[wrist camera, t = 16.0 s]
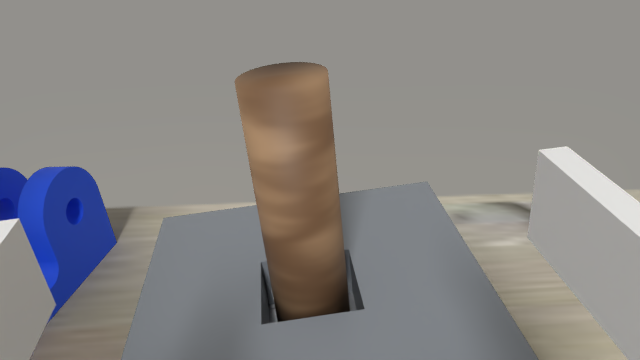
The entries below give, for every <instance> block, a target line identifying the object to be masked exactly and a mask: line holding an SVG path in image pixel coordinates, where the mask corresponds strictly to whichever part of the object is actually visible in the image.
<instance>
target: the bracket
mask: <svg viewBox="0 0 640 360" xmlns="http://www.w3.org/2000/svg"><path fill="white" fill-rule="evenodd" d="M18 218H19V219H20V222H21V224H22V226H23V229H24V231H25V233H26V236H27V238H28V240H29V243H30V245H31V247H32V250H33V252H34V254H35V257H36V259H37V261H38V264H39V266H40V268H41V271H42V273H43V275H44V278H45V280H46V282H47V285H48V287H49V289H50V292H51V294H52V296H53V299H54V301H55V303H56V306H55V308H54V310H53V312H52V314H51V316H50V318H49V320H48V322H49V321H50V320H51V319H52V317H53V316H54V315H55V314H56V313H57V312H58V310H59V309H60V308H61V307H62V306H63V305H64V303H65V302H66V301H67V300H68V299H69V298H70V296H71V295H72V294H73V293H74V292H75V291H76V289H77V288H78V287H79V286H80V285H81V284H82V282H83V281H84V280H85V279H86V278H87V277H88V275H89V274H90V273H91V272H92V271H93V270H94V269H95V267H96V266H97V265H98V264H99V263H100V262H101V260H102V259H103V258H104V257H105V256H106V255H107V253H108V252H109V251H110V250H111V249H112V248H113V246H114V245H115V244H116V243H117V242H116V239H115V236H114V233H113V230H112V227H111V224H110V221H109V218H108V215H107V212H106V209H105V206H104V204H103V201H102V198H101V195H100V192H99V189H98V186H97V184H96V182H95V180H94V179H93V177H92V176H91V175H90V174H89V173H88V172H87V171H86V170H84V169H82V168H80V167H46V168H42V169H40V170H38V171H37V172H35V173H34V174H33V175H32V176H31V177H30V178H29V179H28V180H27V179H26V178H25V177H24V176H23V175H22V174H21V173H19V172H18V171H16V170H13V169H10V168H0V221H3V220H10V219H18ZM48 322H47V323H48Z"/></svg>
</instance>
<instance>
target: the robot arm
mask: <svg viewBox="0 0 640 360" xmlns="http://www.w3.org/2000/svg"><path fill="white" fill-rule="evenodd" d="M527 238H528V239H529V240H530V241H531V242H532V244H533V245H534V246H535V247H536V249H537V250H538V251H539V252H540V253H541V255H542V256H543V257H544V258H545V259H546V261H547V262H548V263H549V264H550V265H551V267H552V268H553V269H554V270H555V272H556V273H557V274H558V275H559V276H560V278H561V279H562V280H563V281H564V282H565V284H566V285H567V286H568V287H569V288H570V290H571V291H572V292H573V293H574V295H575V296H576V297H577V298H578V299H579V301H580V302H581V303H582V304H583V305H584V307H585V308H586V309H587V310H588V311H589V313H590V314H591V315H592V316H593V318H594V319H595V320H596V321H597V322H598V324H599V325H600V326H601V327H602V328H603V330H604V331H605V332H606V333H607V334H608V336H609V337H610V338H611V339H612V341H613V342H614V343H615V344H616V345H617V347H618V348H619V349H620V350H621V351H622V353H623V354H624V355H625V356H626V357H627V359H628V360H640V202H638V201H637V200H636V199H635V198H633V197H632V196H631V195H629V194H628V193H627V192H625V191H624V190H623V189H621V188H620V187H619V186H618V185H616V184H615V183H614V182H612V181H611V180H610V179H609V178H607V177H606V176H605V175H603V174H602V173H601V172H599V171H598V170H597V169H595V168H594V167H593V166H592V165H590V164H589V163H588V162H587V161H585V160H584V159H583V158H581V157H580V156H579V155H577V154H576V153H575V152H573V151H572V150H571V149H570V148H568V147H567V146H566V147H558V148H551V149H543V150H539V151H538V159H537V167H536V175H535V183H534V190H533V198H532V205H531V213H530V221H529V229H528V237H527ZM55 306H56V303H55V301H54V299H53V296H52V294H51V292H50V289H49V287H48V285H47V282H46V280H45V278H44V275H43V273H42V271H41V268H40V266H39V264H38V261H37V259H36V257H35V254H34V252H33V250H32V247H31V245H30V243H29V240H28V238H27V236H26V233H25V231H24V229H23V226H22V224H21V222H20V219H19V218H18V219H10V220H3V221H0V360H30V358H31V356H32V353H33V351H34V349H35V347H36V345H37V343H38V341H39V339H40V337H41V335H42V333H43V331H44V329H45V326H46V324H47V322H48V320H49V318H50V316H51V314H52V312H53V310H54V308H55Z"/></svg>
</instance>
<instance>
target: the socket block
mask: <svg viewBox="0 0 640 360" xmlns="http://www.w3.org/2000/svg"><path fill="white" fill-rule="evenodd" d="M339 198H340V209H341V220H342V231H343V241H344V252H345V263H346V274H347V285H348V296H349V307H350V311H349V312H342V313H335V314H329V315H322V316H315V317H309V318H302V319H295V320H289V321H282V322H278V321H277V315H276V310H275V304H274V298H273V293H272V287H271V282H270V276H269V271H268V265H267V259H266V254H265V248H264V243H263V237H262V232H261V226H260V220H259V215H258V209H257V205H254V206H247V207H240V208H233V209H225V210H218V211H211V212H204V213H196V214H189V215H182V216H175V217H168V218H164V219H163V222H162V225H161V229H160V232H159V235H158V239H157V242H156V245H155V248H154V252H153V255H152V258H151V262H150V265H149V268H148V272H147V275H146V278H145V282H144V285H143V288H142V291H141V295H140V298H139V301H138V305H137V308H136V311H135V315H134V318H133V321H132V325H131V328H130V331H129V334H128V338H127V341H126V344H125V348H124V351H123V354H122V358H121V360H538V358H537V356H536V355H535V353H534V352H533V350H532V348H531V347H530V345H529V344H528V342H527V340H526V339H525V337H524V336H523V334H522V332H521V331H520V329H519V328H518V326H517V324H516V323H515V321H514V320H513V318H512V316H511V315H510V313H509V312H508V310H507V308H506V307H505V305H504V304H503V302H502V300H501V299H500V297H499V296H498V294H497V292H496V291H495V289H494V288H493V286H492V284H491V283H490V281H489V280H488V278H487V276H486V275H485V273H484V272H483V270H482V268H481V267H480V265H479V264H478V262H477V260H476V259H475V257H474V256H473V254H472V252H471V251H470V249H469V248H468V246H467V244H466V243H465V241H464V240H463V238H462V236H461V235H460V233H459V232H458V230H457V228H456V227H455V225H454V224H453V222H452V220H451V219H450V217H449V216H448V214H447V212H446V211H445V209H444V208H443V206H442V204H441V203H440V201H439V200H438V198H437V196H436V195H435V193H434V192H433V190H432V189H431V187H430V185H429V184H428V182H420V183H413V184H406V185H399V186H392V187H384V188H377V189H370V190H362V191H356V192H348V193H341V194H339Z"/></svg>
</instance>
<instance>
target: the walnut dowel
mask: <svg viewBox="0 0 640 360" xmlns="http://www.w3.org/2000/svg"><path fill="white" fill-rule="evenodd" d="M235 86H236V92H237V98H238V103H239V109H240V114H241V120H242V126H243V131H244V137H245V142H246V148H247V154H248V159H249V165H250V170H251V176H252V181H253V187H254V193H255V198H256V204H257V209H258V215H259V220H260V226H261V232H262V237H263V243H264V248H265V254H266V259H267V265H268V271H269V276H270V282H271V287H272V293H273V298H274V304H275V310H276V315H277V321H278V322H282V321H289V320H295V319H302V318H309V317H315V316H322V315H329V314H335V313H342V312H349V311H350V307H349V296H348V285H347V274H346V263H345V252H344V241H343V231H342V220H341V209H340V198H339V188H338V177H337V166H336V155H335V144H334V134H333V122H332V111H331V100H330V90H329V79H328V70H327V68H326V67H324V66H322V65H319V64H315V63H307V62H306V63H305V62H290V63H279V64H272V65H267V66H263V67H259V68H255V69H252V70H250V71H247V72H245V73H243V74H241V75H240V76H238V77H237V78H236V80H235Z"/></svg>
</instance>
